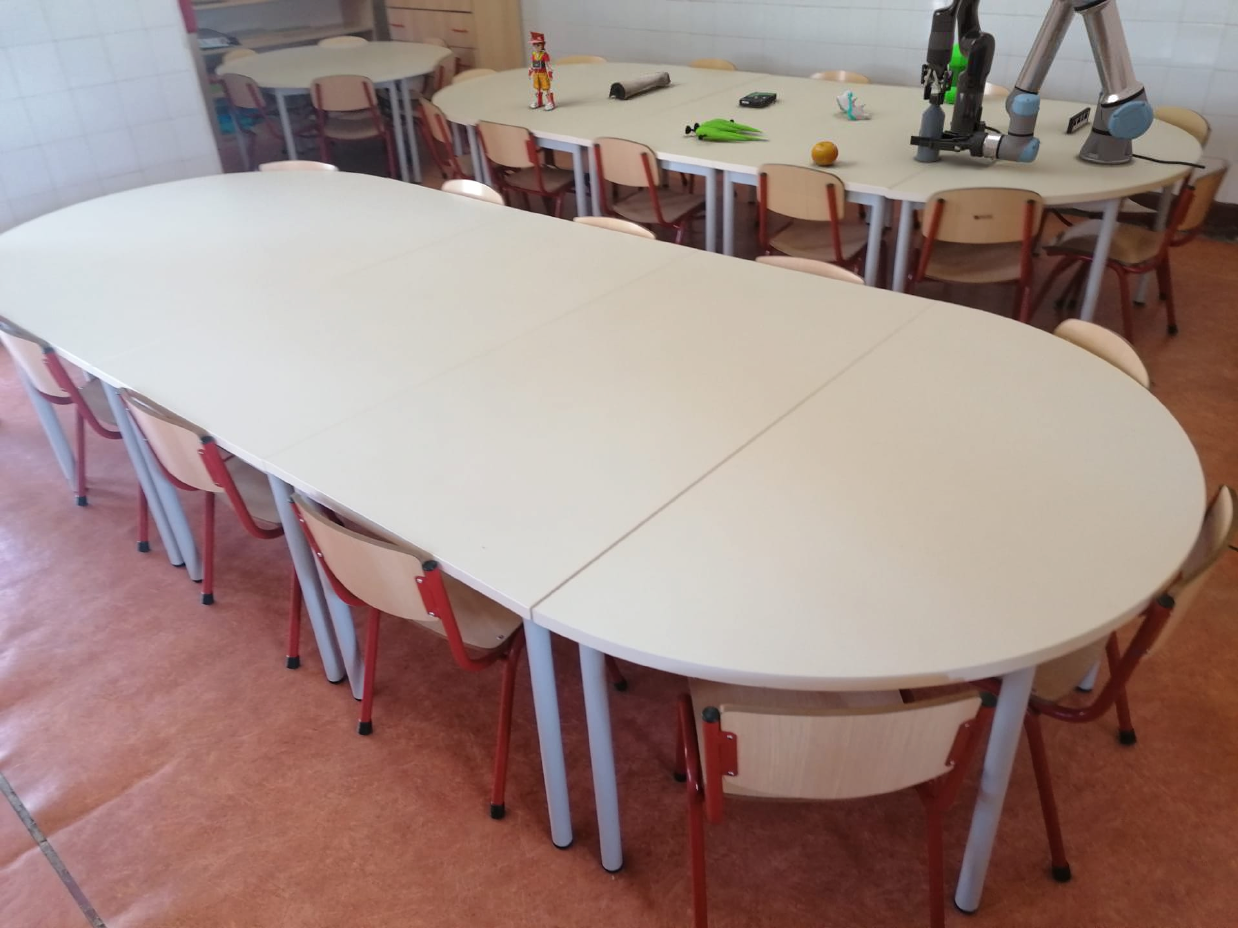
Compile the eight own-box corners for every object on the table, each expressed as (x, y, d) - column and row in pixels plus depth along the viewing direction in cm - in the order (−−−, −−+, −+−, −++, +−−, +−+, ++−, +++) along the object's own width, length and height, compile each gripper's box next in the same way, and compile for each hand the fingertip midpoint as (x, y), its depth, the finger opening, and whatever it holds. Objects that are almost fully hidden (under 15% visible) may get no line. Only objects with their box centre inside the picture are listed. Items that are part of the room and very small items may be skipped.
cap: (932, 100, 289) (934, 92, 288) (944, 102, 287) (946, 94, 285) (926, 103, 287) (927, 95, 285) (938, 105, 284) (939, 97, 283)
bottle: (931, 163, 293) (941, 100, 281) (912, 159, 297) (920, 97, 286) (942, 158, 297) (952, 95, 285) (922, 154, 301) (931, 93, 290)
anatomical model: (831, 89, 347) (857, 82, 346) (834, 116, 353) (859, 109, 352) (842, 98, 335) (869, 91, 334) (845, 126, 341) (871, 118, 340)
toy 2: (674, 138, 327) (749, 153, 315) (675, 124, 324) (751, 138, 312) (709, 126, 347) (780, 139, 335) (710, 112, 345) (782, 125, 332)
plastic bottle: (973, 101, 354) (984, 32, 339) (955, 106, 349) (966, 36, 335) (952, 97, 361) (962, 29, 346) (934, 102, 356) (944, 33, 342)
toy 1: (525, 109, 381) (517, 32, 364) (534, 104, 388) (527, 28, 371) (550, 110, 377) (543, 32, 360) (559, 105, 384) (553, 28, 367)
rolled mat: (651, 76, 408) (662, 61, 399) (662, 93, 408) (674, 79, 400) (605, 92, 391) (616, 77, 383) (617, 110, 391) (628, 95, 383)
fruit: (804, 156, 294) (819, 134, 291) (809, 158, 302) (823, 137, 299) (825, 170, 293) (840, 148, 290) (829, 172, 300) (844, 151, 297)
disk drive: (762, 109, 362) (776, 100, 372) (762, 101, 360) (777, 93, 370) (738, 106, 367) (753, 98, 377) (738, 99, 365) (754, 91, 375)
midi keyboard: (1070, 133, 311) (1073, 118, 308) (1066, 133, 312) (1069, 118, 309) (1087, 122, 322) (1091, 107, 319) (1084, 121, 322) (1087, 107, 319)
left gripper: (917, 44, 282) (910, 99, 292) (943, 51, 271) (935, 108, 281) (938, 41, 284) (930, 96, 293) (965, 48, 273) (956, 105, 282)
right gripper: (973, 165, 280) (902, 156, 291) (993, 149, 293) (924, 141, 304) (978, 141, 275) (905, 133, 287) (997, 125, 288) (927, 118, 300)
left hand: (933, 102), depth 287 cm, fingers open, 7 cm apart
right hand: (915, 137), depth 296 cm, fingers closed on bottle, 7 cm apart
